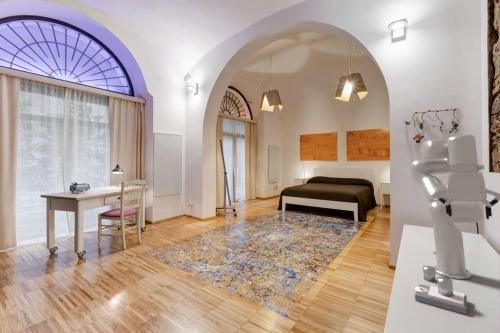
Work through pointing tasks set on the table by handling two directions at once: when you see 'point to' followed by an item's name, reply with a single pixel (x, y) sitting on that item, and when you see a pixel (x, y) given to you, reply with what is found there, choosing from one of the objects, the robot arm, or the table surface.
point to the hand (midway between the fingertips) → (468, 217)
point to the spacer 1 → (429, 273)
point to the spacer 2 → (445, 286)
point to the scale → (441, 299)
